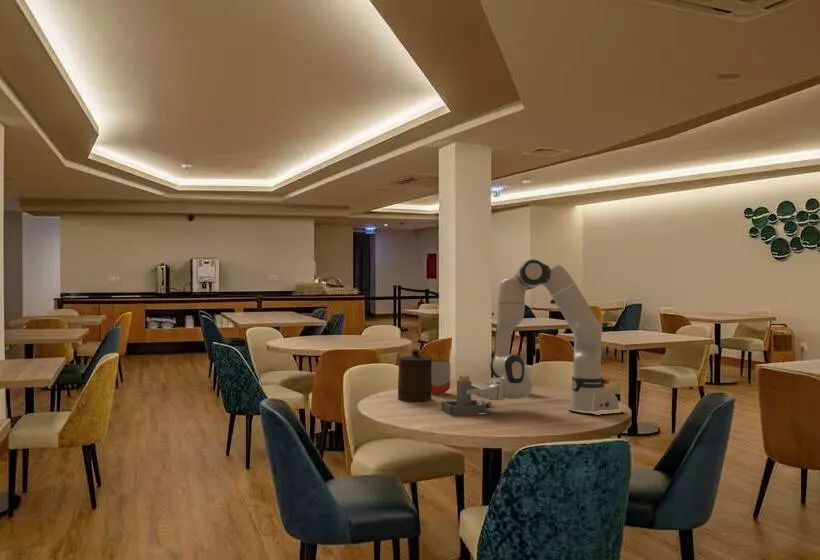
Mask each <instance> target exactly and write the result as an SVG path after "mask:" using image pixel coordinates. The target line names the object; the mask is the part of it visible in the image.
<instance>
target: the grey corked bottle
mask: <svg viewBox="0 0 820 560" xmlns="http://www.w3.org/2000/svg"><path fill="white" fill-rule="evenodd" d="M466 389H470V390H471V380H470V376H469V375H459V376H458V379H457V380H456V401H457V406H466V405H471V400H472V394H466Z"/></svg>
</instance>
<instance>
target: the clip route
mask: <svg viewBox="0 0 820 560" xmlns="http://www.w3.org/2000/svg"><path fill="white" fill-rule="evenodd" d="M477 405H480V402H477ZM481 405H486V406H493V405H492V401H491V400H490V401H488V402H486V401H485V400H481Z"/></svg>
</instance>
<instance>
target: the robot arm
mask: <svg viewBox="0 0 820 560" xmlns="http://www.w3.org/2000/svg"><path fill="white" fill-rule="evenodd" d="M540 285H541V286H543V287H545V288H546V289H547V290H548V292H549V294H550V296H551V298H552V299H553V302H555V304H556V306H557V307H558V309H559V310H560V313H561V315H562V317H564V320H565V322H566V323H567V325H568V326H569V329H570V331H571V332H572V334H573V337H574V340H573V341H574V342H573V344H574V345H573V365H572V367H573V370H572V372H573V374H572V377H571V389H572V390H571V398H570V404H569V407H568V409H569V408H571V409H574V410H581V411H599V410H614V409H619V408H620V406H619V401H618V397H617V396H616V395H615V394H613V393H612V392H611V390H610V389H608V388H606V387H605V385H610V380H609V379H607V378H602V336H603V329H602V325H601V323H600V321H599V320H598V319H597V317H596V315H595V314H594V312H593V310H592V309H591V307H590V305H589V304H588V302H587V300H586V299H585V297H584V295H583V293H582V292H581V290H580V289H579V287H578V285H577V284H576V283H575V281H574V279H573V278H572V276H571V275H570V274H569V272H567V270H566V269H565V268H564V267H563V266H562V265H560V264H553V265H551V266H549V265H547V264H545V263H543V262H541V261H540V260H537V259H533V258H532V259H528V260H526V261H524V262H523V263H522V264H521V265H520V266H519V268H518V270H517V272H516V274H515V276H513V277H511V276H510V277H506V278H504V279H502V280H501V282H500V284H499V288H498V295H497V296H498V297H497V298H498V299H497V320H496V328H495V341H494V351H493V352H494V353H493V355H492V358H491V361H490V362H489V363H490V365H489V368H490V371H491V374H492V375H493V376H494V377H489V378H488V379H487V380H486V381H480V380H479V381H478V380H477V381H476V380H475V381H473V380H472V381H471V380H470V381H471V390H470V389H466V394H471V396H472V395H475V396H477V397H479V398H482V399H488V400H490V401H494V400H495V401H502V400H505V399H509V400H517V399H518V400H519V399H525V398H527V397H528V396H530V394H531V393H532V390H533V383H532V380H531V378H530V379H529V377H528V376H527V373H526V371H525V365H526V364H525V362H524V359H523V358H522V357H521V356H519V355H517V354H510V348H511V347H510V346H511V335H512V332H514V329H515V328H516V327H517V326H519V324H520V323H521V322H522V321H523V319H524V316H525V310H526V309H525V306H526V304H525V295H526V292H527V291H528V290H532V289H535V288H537V287H538V286H540Z"/></svg>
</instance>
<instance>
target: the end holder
mask: <svg viewBox="0 0 820 560" xmlns="http://www.w3.org/2000/svg"><path fill="white" fill-rule="evenodd" d="M477 403H478V401H477V400H476V399H473V400H472V399H471V405H466V406H457V400H445V401H444V400H443V401H441V411H442V412H444V413H445V412H446V413H445V414H447V415H448V416H450V415H456V416H467V415H466V414H479V413H486V414H487V407H486V405H482V404H479V405H477Z"/></svg>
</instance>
